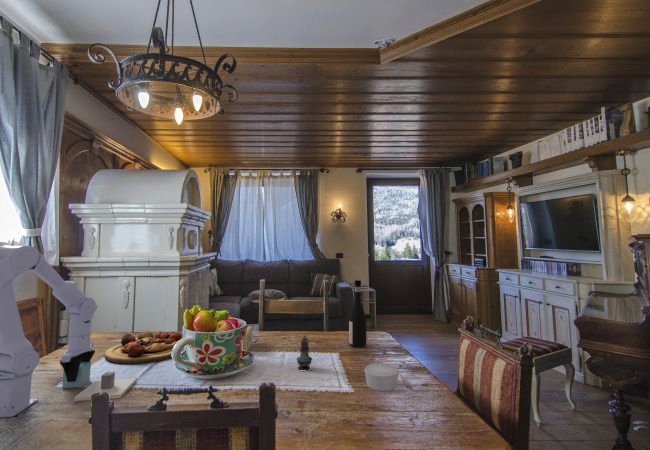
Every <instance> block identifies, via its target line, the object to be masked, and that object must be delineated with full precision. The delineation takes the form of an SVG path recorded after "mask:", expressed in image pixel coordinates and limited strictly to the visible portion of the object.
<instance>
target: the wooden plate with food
mask: <svg viewBox="0 0 650 450" xmlns="http://www.w3.org/2000/svg"><path fill="white" fill-rule="evenodd" d="M171 332H172V333H169V332H162V330H160V331H158V332H156V333H155V334H153V333H152V331H150V330H148V329H146V330H144V331H142V332H141V333H140V334H139V335H138V336H137V338H136V336H135V335H134V334H133V333H132V332H130V331H128V332H127V333H125V334H124V335H123V336H122V337H121V339H120V340H121V341H120V344H117V345H115V346H112V347H109V348H107V350H106V351H105V352H104V354H103V357H104V359H105V360H107V361H109V362H112V363H116V364H145V363H154V362H160V361H165V360H168V358H169V359H172V358H171V351H172V348H173V346H174V344H175V343H176V342H177V341H178V340H180V339H181V338H183V334H181V333H180V332H176V333H175V332H174V331H171ZM181 340H182V339H181ZM164 359H165V360H164Z"/></svg>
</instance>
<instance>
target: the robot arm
mask: <svg viewBox="0 0 650 450" xmlns="http://www.w3.org/2000/svg"><path fill="white" fill-rule="evenodd" d="M25 272H31V273H33V274H34V275H35V276H37V278H39V279H40V280H42V281H43V282H44V283H45V284H47V285H48V286H49V287H51V289H52V293H51V294H52V296H54V298H56V299H57V300H58V301H59V302H60V303H62V305H64V306H65V311H66V313H68V314H69V315H70V316H69V327H68V329H69V330H68V340H67V341H68V342H67V349H66V351H65V352H64V354H63V355H61V359H60V360H59V364H60V365H61V367H62V369H63V371H65V374H66V379H67V382H75V381H76V379H77V375H78V370H79V366H80V364H81V362H91V360H92V358H93V356H94V355H95V354H96V350H94V345H95V343H94V342H93V341H92V342H91V336H92V320H93V318H94V314H95V312H96V311H97V309H98V304H97V303H96V301H95V299H94V298H91V297H88V296H87V293H86V292H83V291H82V290H81V288H79V287H78V286H77V285H78V283H76V281H71V280H64V278H63V277H61V275H60V274H59V273H58V272H57V271H56V270H55V269H54V268H53V267H52V266H51V265H50V263H49V262H48V261H47V260H46V258H45V256H44V254H43V253H41V252H39V250H38V249H37V248H36V247H34V246H31V245H1V246H0V418H12V417H15V416H16V415H18V414H19V413H20V412H23V410H25V409H27V408H28V407H30V406H31V405H33V404H35V403H36V402H38V401H39V399H38V398H31V393H32V392H31V389H32V376H33V372H34V370H35V369H36V368H37V366H38V365H39V362H40V354H39V353H38V352H37V351H36V350H35V348H34V346H33V344H32V343H31V342H30V341H29V340H28V339H27V338H26V335H25V332H24V329H23V325H22V321H21V315H20V312H19V307H18V304H17V299H16V295H15V291H14V287H13V282H14V281H15V280H16V279H17V278H19V276H21V275H23V274H24V273H25Z"/></svg>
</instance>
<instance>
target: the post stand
mask: <svg viewBox="0 0 650 450" xmlns="http://www.w3.org/2000/svg"><path fill="white" fill-rule="evenodd" d="M115 376H116V374H115V371H111V372H110V371H109V372H108V371H107V372H104V373H103V374H102V375H101V380H95V381H93V382H92V383H91V384H90V385H89V386H88V385H87V387H85V388H84V389H83V390H82V391H81V392H79V393H78V394H77V395H75V396H74V398H73V402H81V401H92V400H91V395H92V394H94V393H98V392H107V393H109V395H110V399H109V400H111V399H120V398H122V397H123V396H124V395H125V394H126V393H127V392H128V391H129V390H130V389H131V388H132V387H133V386H134V385H135V384H136V382H137V378H124V379H115Z"/></svg>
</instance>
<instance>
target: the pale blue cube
mask: <svg viewBox="0 0 650 450" xmlns="http://www.w3.org/2000/svg"><path fill="white" fill-rule="evenodd" d="M91 366H92V361H90V362H81V364H80V366H79V370H78V375H77V379H76V381H75V382H67V379H66V374H65V371H64V370H63V372H62V374H63V375H62V385H61V387H62V389H67V388H81V387H83V386H84V385H86V384H87V383H88V382H89V381H91V369H92V367H91Z"/></svg>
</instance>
